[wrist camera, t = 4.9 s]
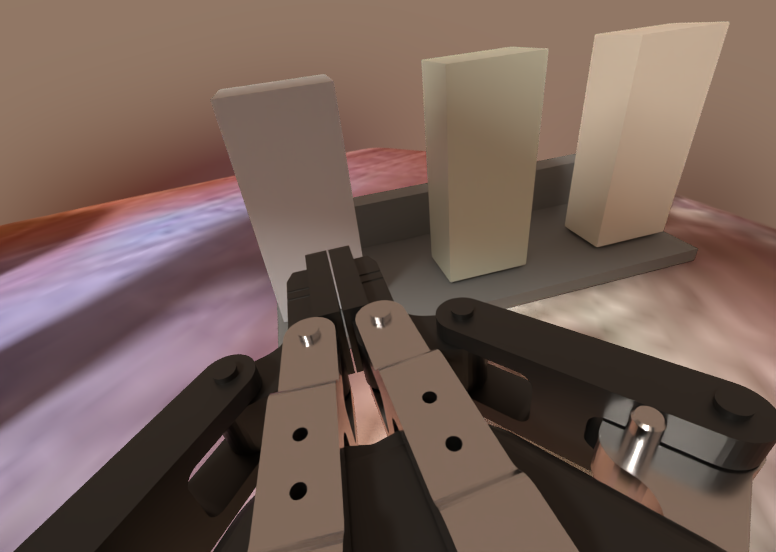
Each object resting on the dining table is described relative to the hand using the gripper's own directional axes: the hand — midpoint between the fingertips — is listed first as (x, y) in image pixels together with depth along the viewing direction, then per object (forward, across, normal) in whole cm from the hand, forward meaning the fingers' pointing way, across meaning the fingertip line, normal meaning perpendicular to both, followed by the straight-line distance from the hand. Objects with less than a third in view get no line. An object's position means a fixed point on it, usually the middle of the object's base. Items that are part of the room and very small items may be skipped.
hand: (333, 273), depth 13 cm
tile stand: (+14, +11, -11) cm, 21 cm away
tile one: (+13, +23, -10) cm, 28 cm away
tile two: (+13, +11, -9) cm, 19 cm away
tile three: (+13, -1, -9) cm, 16 cm away
